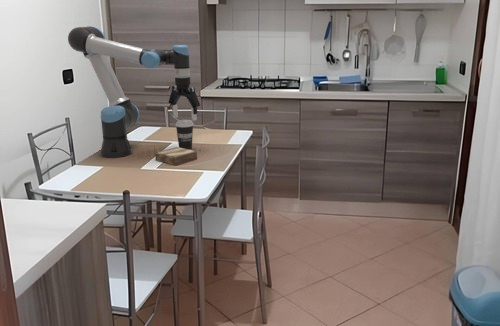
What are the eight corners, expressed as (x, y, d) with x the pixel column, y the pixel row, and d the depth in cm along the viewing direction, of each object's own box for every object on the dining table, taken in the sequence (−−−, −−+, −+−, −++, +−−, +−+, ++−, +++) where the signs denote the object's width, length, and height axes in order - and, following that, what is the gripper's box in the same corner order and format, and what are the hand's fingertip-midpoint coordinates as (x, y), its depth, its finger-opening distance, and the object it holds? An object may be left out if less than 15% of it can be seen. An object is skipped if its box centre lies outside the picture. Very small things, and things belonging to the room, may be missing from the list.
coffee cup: (172, 150, 252) (171, 122, 247) (182, 146, 260) (180, 118, 256) (189, 152, 248) (188, 123, 244) (198, 148, 257) (197, 120, 253)
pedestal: (155, 160, 235) (155, 152, 234) (176, 154, 246) (176, 146, 245) (175, 165, 227) (175, 157, 226) (196, 158, 237) (196, 150, 236)
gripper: (159, 76, 248) (162, 117, 254) (195, 79, 233) (197, 122, 239) (170, 74, 254) (173, 115, 260) (205, 77, 239) (207, 120, 245)
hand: (184, 118), depth 250 cm, fingers open, 13 cm apart
